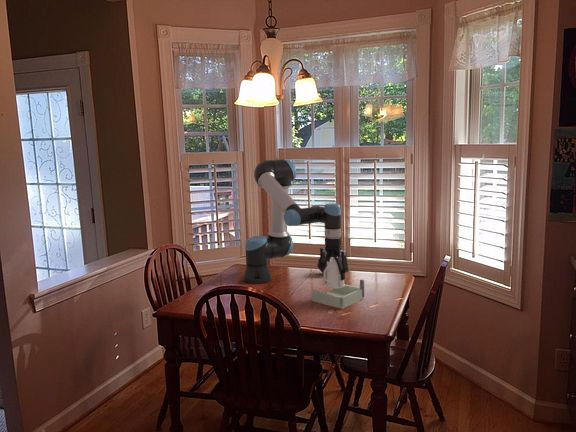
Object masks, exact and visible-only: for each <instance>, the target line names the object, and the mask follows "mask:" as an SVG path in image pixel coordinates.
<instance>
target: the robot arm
mask: <svg viewBox="0 0 576 432" xmlns="http://www.w3.org/2000/svg"><path fill="white" fill-rule="evenodd" d="M253 177H254V181H255V183H256V184H257V185H258V187H259V188H261V189H264V191H265V192H266V193H267V194H268V195H269V197H270V198H271V219H270V220H271V221H270V225H271V226H270V230H269V231H268V233H267V236H265V235H255V236H251V237H249V238H247V239H246V241H245V243H244V244H245V247H244V250H245V269H244V274H243V278H242V279H243V282H244V281H245V283H246V282H248V283H247V284H255V285H256V284H266V283H269V282H271V281H272V273H271V271H270V268H269V264H268V263H269V262H268V260H271V259H272V260H273V259H277V258H284V257H287V256H289V255H290V254H291V253H292V251H293V249H294V241H293V238H292V236H291V235H290V233H289V232H288V231H287V230H288V229H287V227H288V226H289V227H297V226H301V225H310V224H316V223H317V224H318V223H321V224H324V237H325V238H324V246H325V247H321V248H319V252H320V254H319V259H320V261H319V268H321V269H322V272H321V273H322V275H323V276H324V270H325V268H326V267H327V261H328V262H329V261H330V258H331V257H333V258H334V259H335V260H336V262H337V265H338V268H339V271H340V273H339V287H342V286H344V284H345V282H344V283H343V280H344V281H345V279H346V276H345V274H346V273H348V272H349V264H348V259H347V253H348V252H347V250H343V249H342V248H341V247H342V238H341V237H342V210H341V205H340V204H339V203H326V204H324V206H321V205H311V206H310V207H303V208H301V207H300V205H298V204H297V202H296V201H295V200H294V199H293V198H292V197H291V195H290V194H289V188H290V187H291V186H292V182H293V181H295V180H296V178H297V169H296V166H295V163H294V162H293V161H292V160H290V159H285V158H284V159H267V160H262V161H260V162H259V163H258V164H257V165H256V166H255V168H254V171H253ZM325 256H326V258H325ZM341 260H342V261H341ZM319 268H318V269H319ZM325 278H326V279H327V270H326V272H325ZM323 285H327V281H326V280H325V279H324V278H323Z"/></svg>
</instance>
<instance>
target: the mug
mask: <svg viewBox="0 0 576 432" xmlns="http://www.w3.org/2000/svg"><path fill="white" fill-rule="evenodd" d="M341 261H342V260H341ZM326 270H327V279H326V278H325V272H326ZM339 273H340V271H339V268H338V265H337V262H336V260H335V259H330V261H329V262H328V261H327V267H326V268H325V270H324V277H323V280H324V279H325V280H326V281H327V284H326V287H327V288H329V289H333V288H342V287H344V286H345V279H344V280H343V283H344V286H342V287H339Z"/></svg>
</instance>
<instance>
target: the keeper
mask: <svg viewBox="0 0 576 432" xmlns="http://www.w3.org/2000/svg"><path fill="white" fill-rule="evenodd" d="M344 284H345V283H344ZM364 299H365V279H359V287H358V286H354V285H350V284H345V286H344V287H342V288H332V290H330V291H328V292H323V291H319V290H314V289H312V290H311V302H314V303H317V304H322V305H326V306H329V307H333V308H338V309H341V310H343V309H345V308H347V307H350V306H352V305H354V304H356V303H358V302H360V301H362V300H364Z"/></svg>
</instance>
